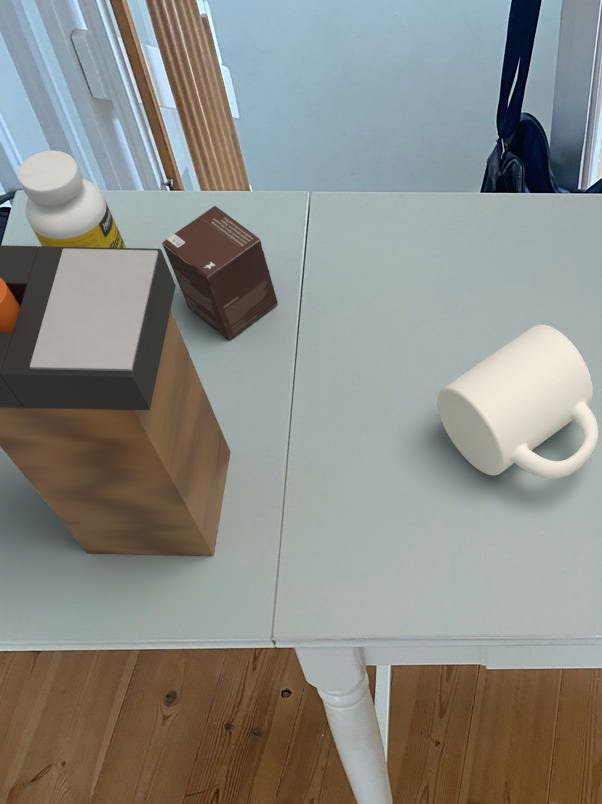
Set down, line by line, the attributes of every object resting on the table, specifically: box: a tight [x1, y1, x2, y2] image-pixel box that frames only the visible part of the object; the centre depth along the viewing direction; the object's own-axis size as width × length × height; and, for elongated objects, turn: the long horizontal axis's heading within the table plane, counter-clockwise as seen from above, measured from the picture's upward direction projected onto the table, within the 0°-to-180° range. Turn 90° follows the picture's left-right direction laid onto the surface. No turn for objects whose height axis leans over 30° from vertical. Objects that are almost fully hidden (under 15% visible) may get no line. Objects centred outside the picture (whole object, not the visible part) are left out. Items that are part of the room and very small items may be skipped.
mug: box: [436, 324, 599, 480], centre depth 70 cm, size 12×10×8 cm
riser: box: [0, 310, 231, 557], centre depth 63 cm, size 10×10×18 cm
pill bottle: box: [17, 150, 127, 248], centre depth 75 cm, size 6×6×12 cm
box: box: [161, 205, 279, 340], centre depth 76 cm, size 6×6×7 cm
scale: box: [0, 244, 177, 410], centre depth 53 cm, size 12×10×3 cm
